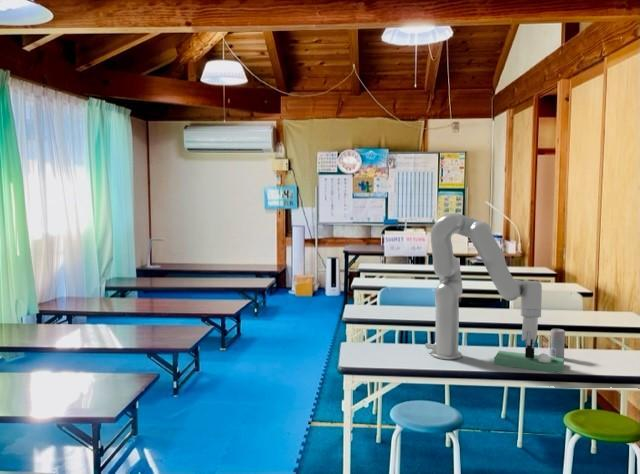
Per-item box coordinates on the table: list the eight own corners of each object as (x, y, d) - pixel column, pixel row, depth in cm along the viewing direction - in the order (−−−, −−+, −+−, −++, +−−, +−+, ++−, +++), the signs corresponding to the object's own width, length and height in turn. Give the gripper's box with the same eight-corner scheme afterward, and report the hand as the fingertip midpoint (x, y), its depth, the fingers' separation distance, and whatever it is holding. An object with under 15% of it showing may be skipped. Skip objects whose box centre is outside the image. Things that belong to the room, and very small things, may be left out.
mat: (494, 364, 220) (494, 357, 220) (498, 356, 231) (499, 350, 231) (561, 373, 209) (562, 366, 209) (563, 364, 220) (563, 358, 220)
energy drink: (560, 356, 231) (561, 328, 230) (566, 360, 226) (567, 331, 225) (547, 356, 231) (548, 328, 230) (553, 360, 225) (554, 331, 225)
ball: (552, 367, 214) (539, 370, 217) (552, 360, 218) (540, 362, 221) (547, 357, 213) (535, 359, 216) (548, 349, 217) (535, 352, 220)
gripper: (523, 308, 226) (522, 351, 227) (518, 315, 212) (517, 361, 214) (542, 309, 222) (541, 354, 224) (539, 316, 209) (537, 364, 210)
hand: (529, 357), depth 219 cm, fingers closed
